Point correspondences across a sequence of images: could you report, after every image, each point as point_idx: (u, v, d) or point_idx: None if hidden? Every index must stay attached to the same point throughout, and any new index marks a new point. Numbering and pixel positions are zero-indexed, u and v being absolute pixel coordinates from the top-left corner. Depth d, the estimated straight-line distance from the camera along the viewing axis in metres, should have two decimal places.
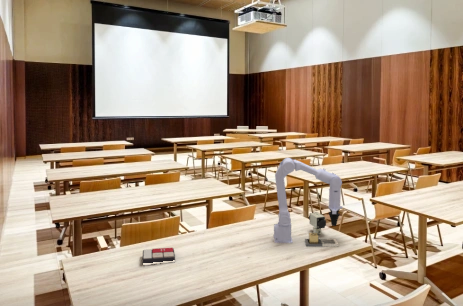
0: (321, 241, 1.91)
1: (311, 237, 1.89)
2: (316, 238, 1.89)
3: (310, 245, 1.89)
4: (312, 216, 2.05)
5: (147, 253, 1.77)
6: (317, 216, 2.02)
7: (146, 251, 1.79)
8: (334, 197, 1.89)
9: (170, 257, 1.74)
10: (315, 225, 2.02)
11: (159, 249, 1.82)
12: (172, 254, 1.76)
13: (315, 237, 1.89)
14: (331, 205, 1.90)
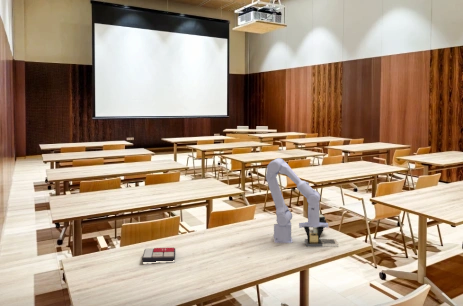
0: (321, 241, 1.91)
1: (311, 237, 1.89)
2: (316, 238, 1.89)
3: (310, 245, 1.89)
4: None
5: (148, 252, 1.78)
6: None
7: (147, 250, 1.81)
8: (311, 214, 1.87)
9: (170, 257, 1.74)
10: None
11: (160, 248, 1.82)
12: (172, 254, 1.76)
13: (315, 237, 1.89)
14: None
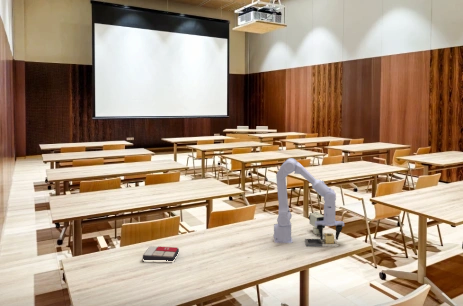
0: (321, 241, 1.91)
1: (327, 237, 1.88)
2: (332, 238, 1.88)
3: (310, 245, 1.89)
4: (312, 216, 2.05)
5: (150, 250, 1.80)
6: (317, 216, 2.02)
7: (151, 248, 1.83)
8: (328, 213, 1.86)
9: (169, 257, 1.74)
10: None
11: (164, 247, 1.83)
12: (172, 254, 1.76)
13: (331, 237, 1.88)
14: None
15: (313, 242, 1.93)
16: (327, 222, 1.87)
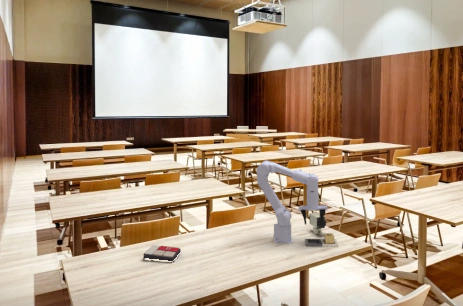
0: (321, 241, 1.91)
1: (327, 237, 1.88)
2: (332, 238, 1.88)
3: (310, 245, 1.89)
4: (312, 216, 2.05)
5: (152, 249, 1.82)
6: (317, 216, 2.02)
7: (153, 247, 1.84)
8: (311, 197, 1.88)
9: (168, 257, 1.74)
10: (315, 225, 2.02)
11: (166, 247, 1.84)
12: (172, 254, 1.76)
13: (331, 237, 1.88)
14: None
15: (313, 242, 1.93)
16: (310, 207, 1.88)
